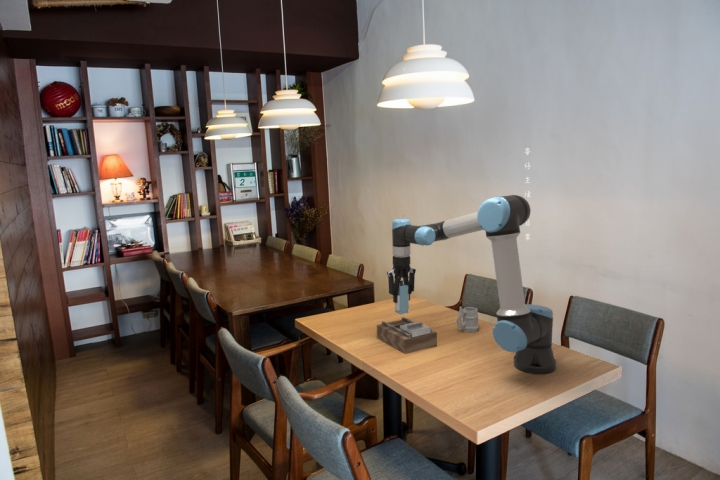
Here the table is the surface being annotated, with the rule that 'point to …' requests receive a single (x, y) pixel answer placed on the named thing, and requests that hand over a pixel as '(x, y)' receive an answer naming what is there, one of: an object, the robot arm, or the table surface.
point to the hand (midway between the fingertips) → (401, 308)
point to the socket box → (404, 337)
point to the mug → (468, 319)
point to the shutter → (415, 329)
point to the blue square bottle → (403, 298)
